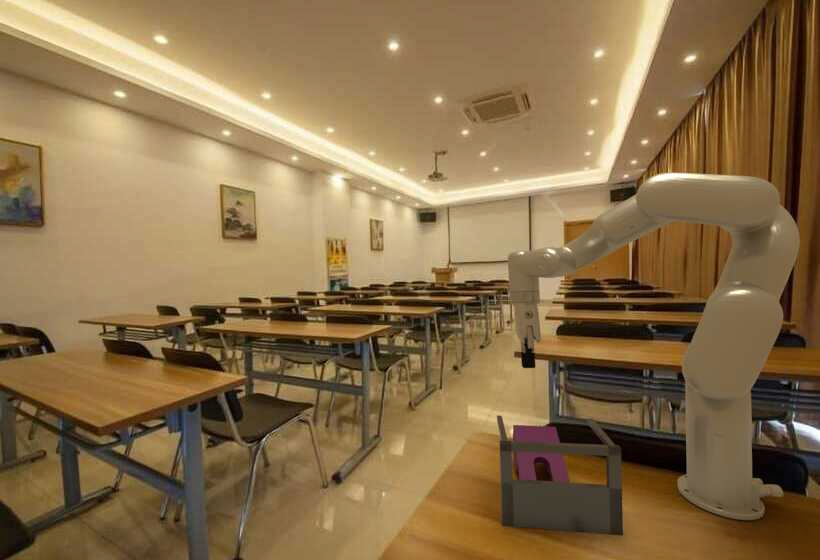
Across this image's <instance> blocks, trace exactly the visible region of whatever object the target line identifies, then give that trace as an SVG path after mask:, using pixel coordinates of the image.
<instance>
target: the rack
mask: <svg viewBox="0 0 820 560" xmlns="http://www.w3.org/2000/svg"><path fill="white" fill-rule="evenodd" d="M586 420H587V421H586V424H587V425H588V426H589V427H590V428H591V429H592V431H593V432H594V434H596V436H597V438H599V439H600V441H601V443H602V444H597V443H596V444H593V443H592V444H591V443H570V442H567V443H566V442H560V443H549V442H524V441H513V440H508V436H507V431H506V428H505V423H504V419H503V416H502V415H496V422H497V426H498V432H499V436H500V440H499V442H498V444H499V446H498V447H499V470H500V471H499V474H500V479H499V480H500V504H501V505H500V506H501V509H500V510H501V525H502V526H504V527H516V528H527V529H540V530H552V531H553V530H554V531H564V532H565V531H566V532H578V533H579V532H581V533H590V534H592V533H593V534H603V535H618V536H624V528H623V527H624V524H623V523H624V521H623V517H624V515H623V514H624V513H623V479H622V478H623V477H622V476H623V475H622V474H623V472H622V447H621V446H620V445H619V444H618V445H617V444H615V443H614V441H613V440H612V439H611V438H610V437H609V436H608V435H607V433H605V431H604V430H603V429H602V428H601V426H599V424H598V423H597V422H596V420H594V418H592V417H590V418H589V417H587V419H586ZM512 452H535V453H556V454H563V455H582V456H602V457H603V456H605V458H606V461H605V462H606V484H599V483H586V482H585V483H584V482H571V481H570V482H553V481H551V480H549V481H548V480H537V479H536V480H537V481H536V480H519V478H518V479H517V478H516V479H515V478H514V479H513V453H512Z"/></svg>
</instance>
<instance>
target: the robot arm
mask: <svg viewBox="0 0 820 560" xmlns="http://www.w3.org/2000/svg"><path fill="white" fill-rule="evenodd" d="M780 203H781V196H780V192H779V190H778V189H777V187H776V186H775V185H773V184H772V183H771V182H769V181H768V180H766V179H764V178H760V177H757V176H749V175H738V174H737V175H734V174H733V175H732V174H713V173H712V174H711V173H693V172H675V171H674V172H673V171H672V172H671V171H670V172H667V171H666V172H661V173H657V174H655V175H652V176H650V177H648V178H647V179H646V180H644V181H643V182H642V183H641V185H640V186H639V187H638V189H637V191H636V194H634V195H633V196H631V197H628V198H627V199H626V200H624V201H622V202H620V203H618V204H617V205H615V206H614V207H612V208H610V209H608V210H607V211H604V212H603V213H602V214H600V215H598V216H597V217H596V218H595V219H594V220H593V222H592V224H591V225H590V226H589V228H588V229H587V230H585V232H583V233H581V235H579V236H578V237H576V238H575V239H573V240H571V241H569V242H567V243H566V244H564V245H562V246H560V247H555V246H554V247H552V246H551V247H550V246H549V247H543V248H538V249H535V250H518V251H517V250H516V251H512V252H510V253H509V254H508V256H507V270H508V286H509V287H508V290H509V302H510V303H509V304H510V305H514V318H515V329H516V330H515V331H516V337H517V338H518V340H519V341H520V350H521V351H520V357H521V359H520V360H521V367H522V369H536V353H535V341H536V342H537V343H538V344H539V343H541V342H542V335H541V324H540V323H541V322H540V315H539V314H540V313H539V307H538V304H541V296H540V294H541V293H540V279H539V278H545V279H553V278H560V277H561V278H562V277H566V276H569V275H571V274H574V273H575V272H577V271H579V270H581V269H583V268H586V267H588V266H589V265H592V264H594V263H595V262H596V261H598V260H600V259H602V258H604V257H606V256H607V255H610V254H612V253H613V252H615V251H618V250H619V249H621V248H623V247H624V246H626V245H628V244H630V243H632V242H634V241H637V240H638V239H640V238H642V237H644V236H645V235H648V234H649V233H652V232H654V231H656V230H658V229H660V228H662V227H664V226H666V225H668V224H670V223H672V222H675V221H679V222H686V223H687V222H688V223H694V224H700V225H701V224H702V225H710V226H716V227H720V228H721V229H723V230H725V231H727V232H728V233H729V235H730V237H731V242H732V244H731V248H730V252H729V255H728V257H727V259H726V262H725V265H724V268H723V271H722V272H721V275H720V277H719V280H718V282H717V284H716V286H715V288H714V290H713V291H712V293H711V294H710V295H709V297H708V298H707V300H706V304H705V307H704V308H703V312H702V315H701V317H700V320H699V323H698V325H697V327H696V330H695V332H694V334H693V336H692V339H691V340H690V341H691V342H690V343H689V344H688V346H687V347H686V349H685V351H684V353H683V358H682V362H681V371H682V372H681V373H682V375H683V378H684V380H685V388H684V390H685V442H686V443H685V444H686V445H685V446H686V447H685V448H686V449H685V451H686V455H685V456H686V474H682V475H681V476H680V477H678V478H677V482H676V483H677V484H676V486H677V489H678V491H679V493H680V494H681V495H682V496H683V497H684V498H685V499H687V500H688V501H689V502H690V503H692V504H694V505H695V506H697V507H699V508H701V509H702V510H705V511H707V512H709V513H712V514H715V515H718V516H721V517H724V518H728V519H733V520H741V521H754V520H755V521H756V520H759V519H761V518H762V517H763V516H764V515H765V511H766V510H765V504H764V503H763V501H762V500H761V499H760V498H764V497H765V496H768V497H778V498H783V497H784V491H783V489H782V488H781V486H780V485H778V484H767V483H766V484H764V482H763V480H762V479H761V478H760V477H759V478H758V477H757V478H756V477H753V452H752V447H753V445H752V443H753V442H752V441H753V440H752V427H753V426H752V420H753V419H752V392H751V391H752V390H751V389H752V388H753V386H754V385H755V383H756V381H757V379H758V378H759V376H760V374H761V371H762V370H763V367H764V366H765V363H766V362H767V359H768V358H769V356H770V354H771V352H772V349H773V347H774V345H775V343H776V341H777V338H778V337H779V334H780V331H781V329H782V325H783V323H784V311H783V307H782V305H781V303H780V299H781V296H782V294H783V292H784V289H785V287H786V286H787V283H788V280H789V277H790V276H791V272H792V270H793V267H794V265H795V263H796V260H797V257H798V254H799V249H800V243H801V242H800V241H801V239H800V231H799V229H798V226H797V223H796V221H795V219H794V218H793V216H792V215H791V214H790V212H789V211H788V210H787V209H786V208H784V206H783V205H781V204H780ZM763 514H764V515H763ZM760 517H761V518H760Z"/></svg>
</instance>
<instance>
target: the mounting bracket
mask: <svg viewBox="0 0 820 560" xmlns="http://www.w3.org/2000/svg"><path fill="white" fill-rule="evenodd" d="M512 441H524V442H549V443H561V442H560V438H559V434H558V431H557V427H556V426H547V425H545V426H544V425H527V424H526V425H525V424H524V425H523V424H513V427H512ZM512 452H513V451H512ZM512 456H513V462H514V463H513V464H514V469H515V472H516V473H518V479H519V480H536V481H538V480H537V476H536V469H535V465H537V464H542V465H544V466H545V469H546V472H547V474H548V475H549V477H550V481H553V482H570V483H571V481H570V477H569V472H568V469H567V466H566V461H565V458H564V454H556V453H535V452H513V453H512Z"/></svg>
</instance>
